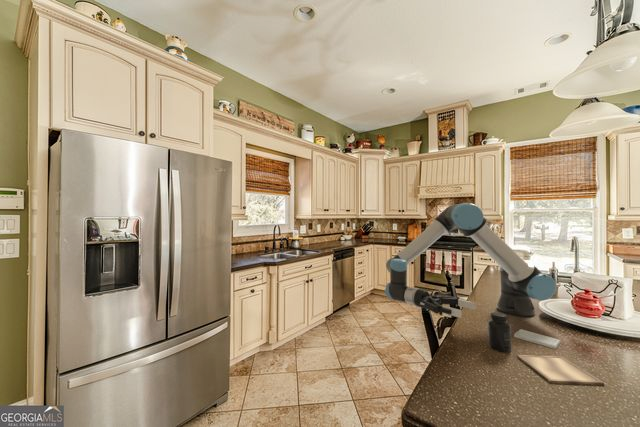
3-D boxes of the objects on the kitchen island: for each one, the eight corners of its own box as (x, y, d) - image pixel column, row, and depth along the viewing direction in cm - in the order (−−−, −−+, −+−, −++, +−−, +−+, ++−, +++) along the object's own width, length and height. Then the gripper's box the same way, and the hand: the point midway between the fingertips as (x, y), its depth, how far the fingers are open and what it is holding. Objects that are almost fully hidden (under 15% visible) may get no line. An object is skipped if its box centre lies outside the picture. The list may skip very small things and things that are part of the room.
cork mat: (561, 358, 87) (561, 356, 87) (603, 385, 73) (603, 382, 73) (516, 357, 88) (516, 354, 88) (549, 382, 74) (549, 380, 74)
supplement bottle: (507, 345, 97) (507, 312, 97) (514, 354, 90) (514, 318, 90) (486, 342, 99) (485, 310, 99) (491, 351, 92) (490, 316, 93)
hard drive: (513, 334, 103) (555, 345, 94) (520, 328, 108) (561, 339, 99) (513, 338, 103) (555, 350, 94) (520, 332, 108) (561, 343, 99)
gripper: (431, 300, 126) (480, 312, 110) (401, 312, 110) (454, 328, 94) (431, 284, 127) (480, 294, 110) (401, 293, 110) (454, 307, 94)
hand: (468, 310), depth 102 cm, fingers open, 13 cm apart
